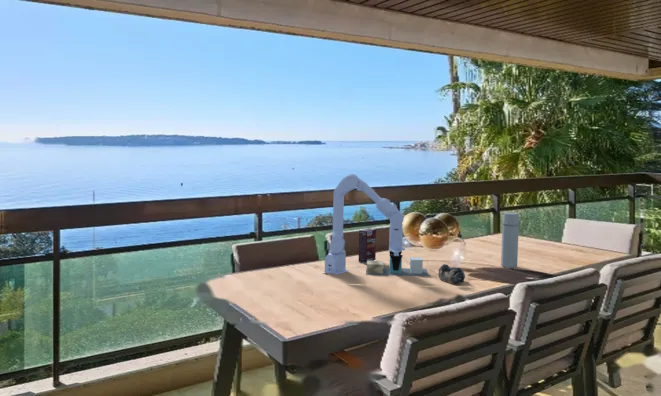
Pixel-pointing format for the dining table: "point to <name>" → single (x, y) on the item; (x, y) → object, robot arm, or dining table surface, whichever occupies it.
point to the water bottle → (510, 240)
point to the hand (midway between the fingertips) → (395, 268)
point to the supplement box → (367, 245)
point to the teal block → (395, 270)
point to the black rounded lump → (451, 274)
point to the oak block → (375, 267)
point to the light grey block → (416, 265)
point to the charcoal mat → (404, 273)
